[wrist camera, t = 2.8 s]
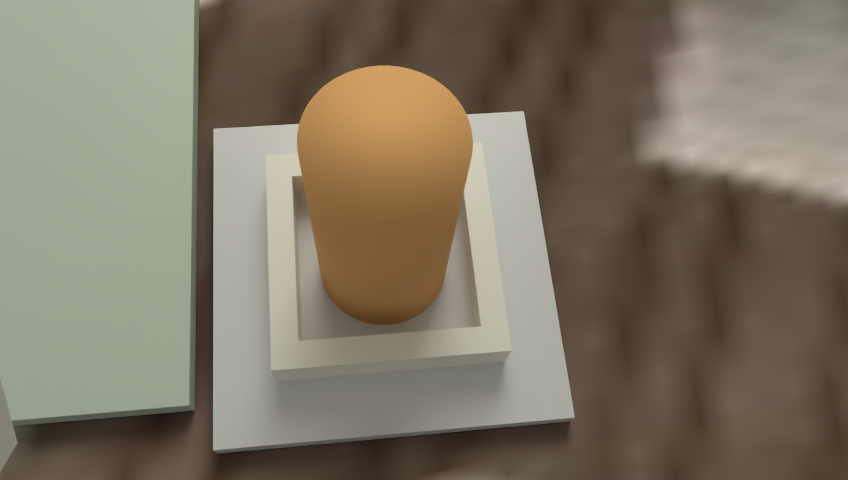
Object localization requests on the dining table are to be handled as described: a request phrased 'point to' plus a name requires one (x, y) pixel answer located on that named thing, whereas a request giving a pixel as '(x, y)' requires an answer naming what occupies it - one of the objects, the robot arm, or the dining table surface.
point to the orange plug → (384, 188)
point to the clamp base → (369, 343)
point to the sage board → (98, 207)
